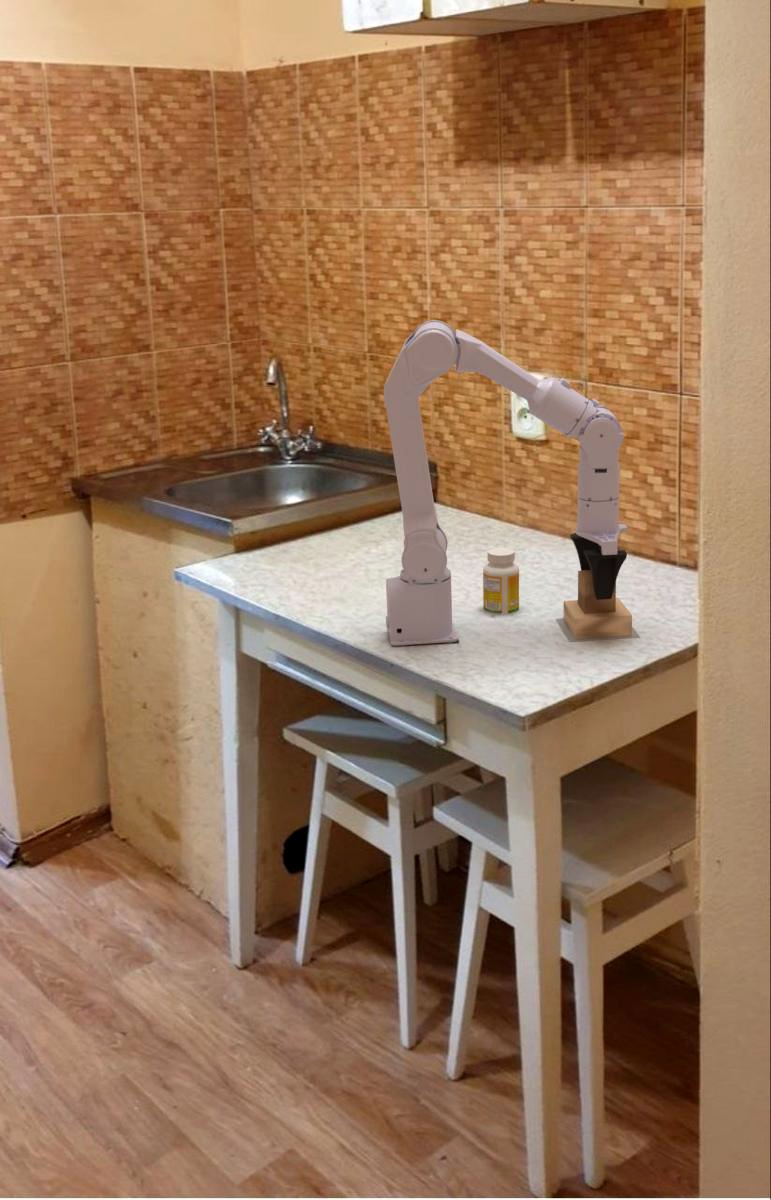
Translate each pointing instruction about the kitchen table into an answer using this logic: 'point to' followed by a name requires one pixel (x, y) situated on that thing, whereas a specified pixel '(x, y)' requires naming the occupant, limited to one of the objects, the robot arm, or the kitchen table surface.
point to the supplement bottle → (501, 582)
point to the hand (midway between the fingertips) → (597, 590)
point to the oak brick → (597, 621)
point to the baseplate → (572, 639)
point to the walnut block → (592, 596)
